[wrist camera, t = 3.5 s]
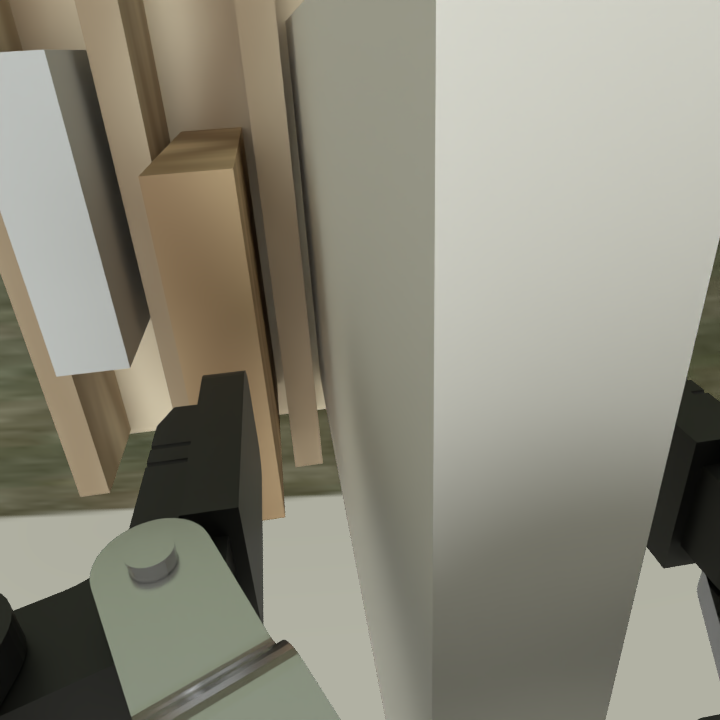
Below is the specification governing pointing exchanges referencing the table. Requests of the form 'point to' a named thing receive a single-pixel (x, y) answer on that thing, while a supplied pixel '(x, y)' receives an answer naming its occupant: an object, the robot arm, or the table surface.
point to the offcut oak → (216, 278)
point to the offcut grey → (68, 212)
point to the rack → (131, 157)
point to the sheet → (504, 321)
